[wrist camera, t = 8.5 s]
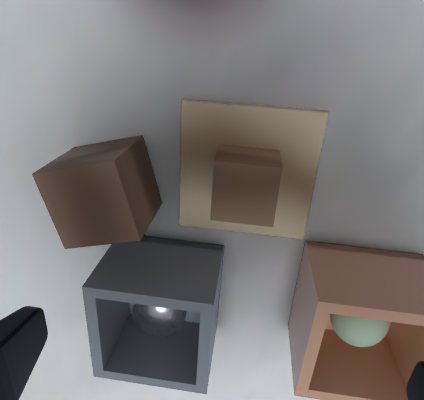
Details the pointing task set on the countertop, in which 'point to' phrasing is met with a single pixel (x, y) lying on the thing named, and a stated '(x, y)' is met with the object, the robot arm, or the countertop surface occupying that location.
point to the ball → (359, 330)
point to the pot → (363, 308)
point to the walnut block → (100, 193)
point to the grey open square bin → (160, 297)
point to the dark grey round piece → (158, 319)
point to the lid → (248, 166)
